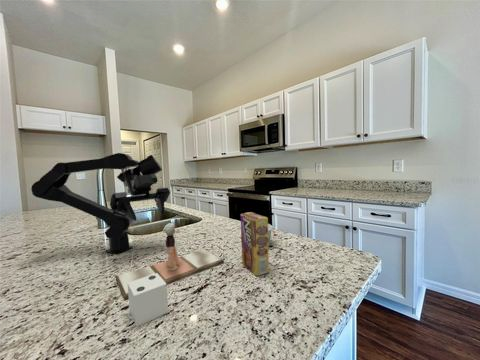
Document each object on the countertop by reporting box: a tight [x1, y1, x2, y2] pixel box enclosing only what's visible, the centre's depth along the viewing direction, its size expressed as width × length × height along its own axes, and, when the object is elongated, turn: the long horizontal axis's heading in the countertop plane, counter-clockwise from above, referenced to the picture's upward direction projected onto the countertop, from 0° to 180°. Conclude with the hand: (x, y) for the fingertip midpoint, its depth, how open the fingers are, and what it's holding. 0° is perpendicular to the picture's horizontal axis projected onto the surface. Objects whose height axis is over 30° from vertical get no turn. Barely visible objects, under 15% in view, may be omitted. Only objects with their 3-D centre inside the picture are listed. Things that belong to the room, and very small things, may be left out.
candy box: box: [240, 211, 270, 277], centre depth 60 cm, size 9×4×15 cm, turn 26°
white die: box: [127, 273, 169, 327], centre depth 44 cm, size 6×6×6 cm
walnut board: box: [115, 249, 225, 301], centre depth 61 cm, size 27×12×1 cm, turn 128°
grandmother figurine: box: [162, 222, 179, 271], centre depth 61 cm, size 8×4×13 cm, turn 36°
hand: (150, 217), depth 70 cm, fingers open, 9 cm apart
